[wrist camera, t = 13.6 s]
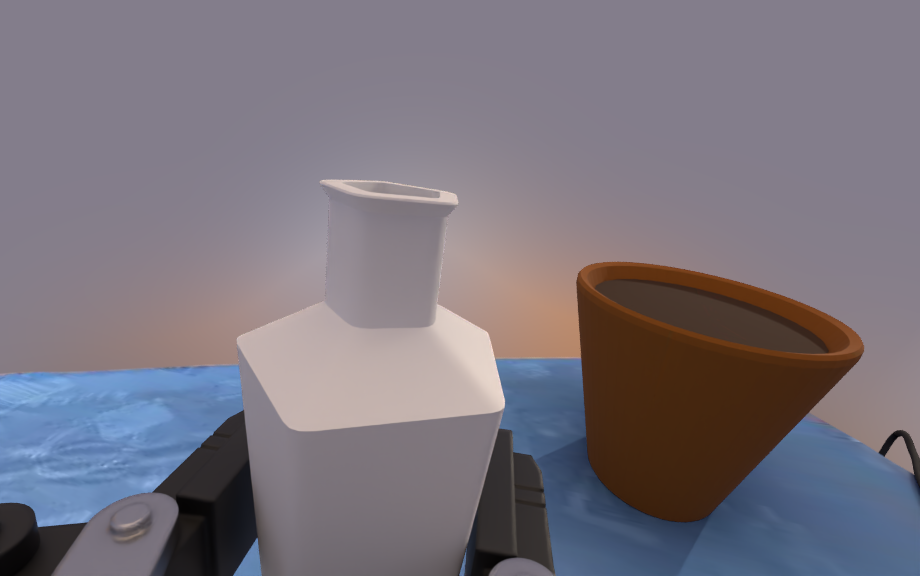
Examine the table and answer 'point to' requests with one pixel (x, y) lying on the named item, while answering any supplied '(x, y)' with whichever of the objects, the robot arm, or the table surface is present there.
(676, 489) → the flower pot
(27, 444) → the table surface
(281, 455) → the perfume bottle
